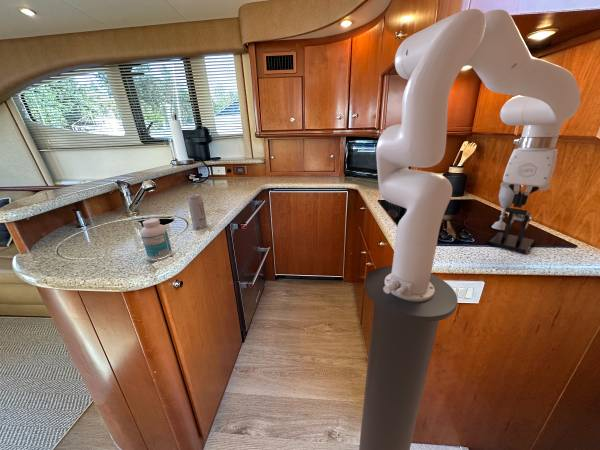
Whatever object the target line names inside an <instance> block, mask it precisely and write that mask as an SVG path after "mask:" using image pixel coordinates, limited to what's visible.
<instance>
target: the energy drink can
mask: <svg viewBox="0 0 600 450" xmlns="http://www.w3.org/2000/svg"><path fill="white" fill-rule="evenodd" d="M203 199H204V198H203V197H202V195H201V194H200V193H192V194H189V195H188V198H187V204H188V209H189V214H190V218H191V224H192V227H193V228H194V229H196V230H202V229H204V228H206V227H207V225H208V221H207V217H206V212H205V206H204V205H205V204H204V200H203ZM205 225H206V226H205Z"/></svg>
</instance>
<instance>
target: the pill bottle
mask: <svg viewBox="0 0 600 450" xmlns="http://www.w3.org/2000/svg"><path fill="white" fill-rule="evenodd" d="M160 223H161V221H160V219H159V218H149V219H145V220H143V221H142V226H143V228H142V229H141V230H140V236H141V239H142V242H143V246H144V249H145V250H144V251H145V252H146V255H147V259H148V258H149V259H148V261H150V262H161V261H165V260H167V259H169V258H171V257H172V255H173V250H172V247H171V242H170V238H169V234H168V230H167V227H166V226H165V225H164V224H160ZM171 253H172V254H171ZM169 254H171V255H169ZM167 255H169V256H167ZM165 256H167V257H165ZM162 257H165V258H162ZM158 258H162V259H158ZM150 259H157V260H150Z"/></svg>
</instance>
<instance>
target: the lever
mask: <svg viewBox="0 0 600 450" xmlns="http://www.w3.org/2000/svg"><path fill="white" fill-rule="evenodd" d="M528 211H529V210H526V209H521V208H515V207H509V208H508V207H506V210H505V212H506V213H508V214H509V213H514V214H515V216H514V219H513V222H517V223H523V220H524V217H525V215H527V213H528Z"/></svg>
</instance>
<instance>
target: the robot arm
mask: <svg viewBox="0 0 600 450" xmlns="http://www.w3.org/2000/svg"><path fill="white" fill-rule="evenodd" d="M466 66H467V67H468V66H469V67H471V68H472V69H473V70H474V72H475V73H476V75H477V76H478V78H479V79H480V80H481V82H482V83H483V84H484V86H485V87H486V89H488V90H489V91H490V92H493V93H495V94H496V93H497V94H500V95H501V94H502V95H509V96H513V97H511V98H510V99H508V100H507V101H506V102H505V103H504V104H503V106H502V107H501V108H500V111H499V117H500V120H501V122H502V123H504V124H505V125H508V126H512V127H514V126H515V127H516V126H517V127H518V126H523V128H522V129H523V130H522V132H521V137H520V138H519V139H514V140H513V142H512V145H515V146H517V148H514V149H513V151H512V153H511V155H510V157H509V159H508V162H507V165H506V167H505V170H504V173H503V176H502V182H501V183H500V184H501V185H503V186H506V187H509V188H510V189H511V190H512V191H513V192H514V194H515V195H514V198H513V201H512V203H513V204H512V205H513V208H517V209H521V208H522V207H523V206H526V204H527V202H528V199H529V195H531V194H533V193H534V192H537V191H540V192H541V191H548V190H549V189H551V185H550V183H551V181H552V178H553V176H554V172H555V168H556V164H557V158H558V149H557V148H556V146H557V142H558V139H559V136H560V133H561V131H562V127H563V124H564V123H565V122H567V121H569V120H570V119H572V117H574V116H575V114H576V113H577V112H578V110H579V108H580V105H581V102H582V101H581V100H582V98H581V97H582V96H581V90H580V87H579V85H578V82H577V80H576V78H575V76H574V74H573V73H572V72H571V71H570V70H568V69H566V68H565V67H563V66H560V65H558V64H555V63H552V62H550V61H547V60H544V59H541V58H537V57H534V56H532V54H531V52H530V50H529V48H528V46H527V45H526V42H525V41H524V39H523V37H522V34H521V32H520V30H519V29H518V26H517V25H516V23H515V21H514V19H513V17H512V15H511V14H510V13H509V12H508V11H506V10H504V9H493V10H489V11H486V12H483V11H481V10H480V9H477V8H467V9H464V10H461V11H458V12H456V13H453V14H450V15H449V16H447V17H444V18H443V19H440V20H438V21H437V22H435V23H432V24H431V25H429V26H428V27H425V28H423V29H421V30H419V31H417V32H415V33H413V34H411V35H409V36H408V37H407V38H405V39H404V40H403V41H401V44H400V45H399V46H398V48H397V50H396V52H395V56H394V67H395V70H396V73H397V74H398V75H399V76H400V77H401V78H402V79H404V80H407V83H406V84H405V88H404V90H403V94H402V98H401V123H397V124H392V125H390V126H388V127H386V128H385V129H384V130H383V131H382V133H381V134H380V135H379V138H378V140H377V144H376V149H375V155H376V156H375V157H376V170H377V181H378V189H379V194H380V195H381V197H382V198H383V200H385V201H386V202H388V203H390V204H393V205H395V206H399V207H401V208H404V209H406V211H405V213H404V215H403V216H402V217H401V219H399V221H398V223H397V226H396V231H395V232H396V233H395V242H394V248H393V258H392V265H391V266H392V273H391V274H389V275H387V276H386V278H385V282H384V284H385V286H384V287H383V290H384V292H385V293H387V294H388V293H390V292H391V293H392V294H393V295H395V296H397V297H399V298H402V299H404V300H408V301H416V302H420V301H426V300H429V299H431V298H432V297H433V295H434V291H435V289H434V286H433V285H432V284H431V283H430V282H429V281H430V276H431V274H432V271H433V267H434V266H433V265H434V260H435V255H436V250H437V245H438V240H439V235H440V231H441V230H440V229H441V226H442V223H441V222H442V219H443V220H444V215H445V213H446V210H447V209H448V206H449V204H450V201H451V199H452V194H453V184H452V183H451V181H450V180H449V179H448V178H447V177H446V176H444V175H442V174H440V173H437V172H433V171H426V170H419V169H410V167H412V168H432V167H435V166H437V165H438V164H439V163H440V162H441V161H442V160H443V158H444V156H445V153H446V149H447V147H446V146H447V135H448V134H447V133H448V130H447V129H448V111H449V110H448V109H449V108H448V106H449V100H450V98H449V97H450V93H451V89H452V87H453V85H454V83H455V80H456V79H457V77H458V76H459V74H460V72H461V71H462V69H463V68H464V67H466ZM501 185H500V186H501ZM521 185H523V186H526V188H525V190H524V191H523V192H522V188H521Z"/></svg>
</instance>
